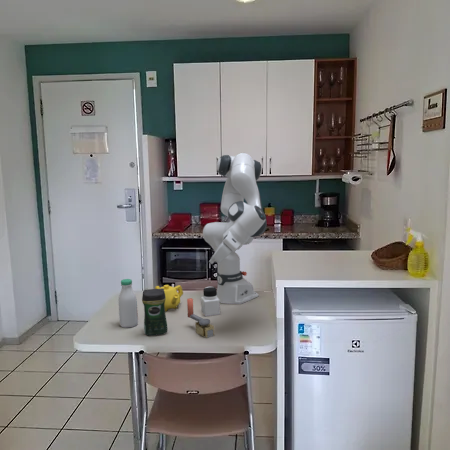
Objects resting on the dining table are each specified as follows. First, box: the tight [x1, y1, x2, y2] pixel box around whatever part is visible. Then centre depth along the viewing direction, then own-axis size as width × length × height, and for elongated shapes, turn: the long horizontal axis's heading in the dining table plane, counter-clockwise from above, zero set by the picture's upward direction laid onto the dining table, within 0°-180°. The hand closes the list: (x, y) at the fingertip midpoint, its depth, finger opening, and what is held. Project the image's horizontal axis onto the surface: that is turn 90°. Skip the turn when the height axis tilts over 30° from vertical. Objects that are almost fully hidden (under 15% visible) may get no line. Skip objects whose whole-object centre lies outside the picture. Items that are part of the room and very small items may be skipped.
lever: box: [186, 297, 211, 326], centre depth 177 cm, size 13×4×8 cm, turn 39°
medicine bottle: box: [200, 286, 221, 317], centre depth 196 cm, size 7×7×12 cm
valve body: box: [194, 321, 215, 339], centre depth 175 cm, size 8×5×4 cm, turn 37°
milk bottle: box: [118, 278, 139, 328], centre depth 184 cm, size 8×8×20 cm
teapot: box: [154, 284, 184, 312], centre depth 204 cm, size 20×18×11 cm
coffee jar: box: [141, 287, 169, 337], centre depth 176 cm, size 10×8×19 cm
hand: (210, 262), depth 177 cm, fingers closed
